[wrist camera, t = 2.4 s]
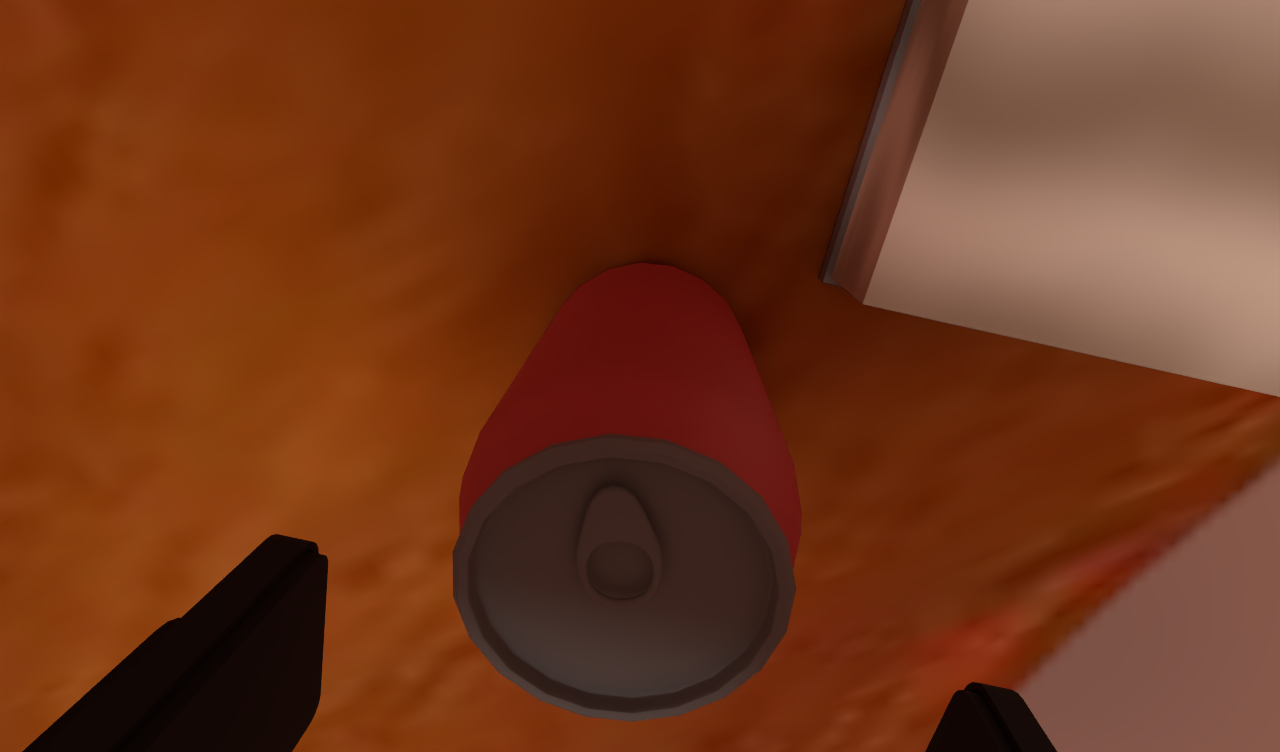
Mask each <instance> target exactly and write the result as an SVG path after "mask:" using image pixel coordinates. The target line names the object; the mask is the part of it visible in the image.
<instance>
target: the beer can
mask: <svg viewBox="0 0 1280 752" xmlns="http://www.w3.org/2000/svg"><path fill="white" fill-rule="evenodd" d="M801 515H802V512H801V506H800V499H799V493H798V486H797V480H796V473H795V467H794V464H793V461H792V458H791V456H790V453H789V451H788V448H787V445H786V443H785V440H784V438H783V435H782V432H781V430H780V427H779V425H778V422H777V419H776V417H775V414H774V411H773V409H772V406H771V404H770V401H769V398H768V396H767V393H766V391H765V388H764V385H763V383H762V380H761V378H760V375H759V372H758V370H757V367H756V364H755V362H754V359H753V357H752V354H751V351H750V349H749V346H748V344H747V341H746V338H745V336H744V333H743V331H742V328H741V326H740V324H739V323H738V321H737V319H736V317H735V315H734V314H733V312H732V310H731V308H730V306H729V305H728V303H727V301H726V300H725V299H724V298H723V297H722V296H720V295H719V294H718V293H717V292H716V291H715V290H714V289H713V288H712V287H711V286H709V285H708V284H707V283H706V282H705V281H704V280H703V279H701V278H698V277H696V276H694V275H692V274H689V273H687V272H685V271H683V270H680V269H678V268H676V267H674V266H667V265H658V264H648V263H636V264H631V265H626V266H622V267H617V268H612V269H608V270H606V271H604V272H602V273H601V274H599V275H597V276H596V277H594V278H592V279H590V280H589V281H587V282H585V283H584V284H582V285H580V286H579V287H578V288H577V290H576V291H575V292H574V293H573V294H572V295H571V297H570V298H569V299H568V300H567V301H566V302H565V303H564V305H563V306H562V307H561V308H560V309H559V311H558V312H557V314H556V315H555V317H554V318H553V320H552V322H551V323H550V325H549V326H548V328H547V329H546V331H545V332H544V334H543V336H542V337H541V339H540V340H539V342H538V343H537V345H536V346H535V348H534V349H533V351H532V353H531V354H530V356H529V357H528V359H527V360H526V362H525V363H524V365H523V366H522V368H521V370H520V371H519V373H518V374H517V376H516V377H515V379H514V380H513V382H512V384H511V385H510V387H509V388H508V390H507V391H506V393H505V394H504V396H503V397H502V399H501V401H500V402H499V404H498V405H497V407H496V408H495V410H494V411H493V413H492V414H491V416H490V418H489V419H488V421H487V422H486V424H485V425H484V427H483V428H482V430H481V431H480V433H479V436H478V439H477V441H476V444H475V447H474V449H473V452H472V455H471V457H470V460H469V462H468V465H467V468H466V470H465V473H464V476H463V480H462V486H461V492H460V497H459V521H460V535H459V538H458V540H457V543H456V545H455V548H454V550H453V597H454V599H455V602H456V604H457V607H458V609H459V612H460V614H461V617H462V620H463V622H464V625H465V627H466V630H467V632H468V635H469V637H470V639H471V640H472V641H473V642H474V643H475V645H476V646H477V647H478V648H479V649H480V651H481V652H482V653H483V654H484V655H485V656H486V658H487V659H488V660H489V661H490V662H491V664H492V665H493V666H494V667H495V668H496V670H497V671H498V672H499V673H500V674H502V675H503V676H505V677H506V678H508V679H509V680H511V681H512V682H514V683H515V684H517V685H518V686H520V687H521V688H523V689H524V690H526V691H527V692H529V693H530V694H532V695H533V696H534V697H536V698H537V699H539V700H541V701H544V702H546V703H549V704H552V705H555V706H558V707H560V708H563V709H566V710H569V711H571V712H574V713H577V714H580V715H583V716H587V717H596V718H605V719H615V720H624V721H639V720H647V719H655V718H663V717H671V716H679V715H682V714H684V713H687V712H689V711H692V710H694V709H697V708H699V707H702V706H704V705H707V704H709V703H712V702H714V701H717V700H719V699H722V698H724V697H726V696H728V695H729V694H730V693H731V692H733V691H734V690H735V689H737V688H738V687H739V686H740V685H742V684H743V683H744V682H746V681H747V680H748V679H749V678H751V677H752V676H753V675H755V674H756V673H757V672H758V671H760V670H761V669H762V668H763V666H764V665H765V663H766V662H767V660H768V659H769V657H770V656H771V654H772V653H773V651H774V650H775V648H776V647H777V645H778V644H779V642H780V641H781V639H782V638H783V636H784V635H785V633H786V631H787V627H788V622H789V618H790V613H791V609H792V605H793V600H794V596H795V591H796V586H795V580H794V574H793V568H794V563H795V559H796V554H797V550H798V545H799V541H800V536H801Z"/></svg>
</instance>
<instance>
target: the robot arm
mask: <svg viewBox="0 0 1280 752" xmlns="http://www.w3.org/2000/svg"><path fill="white" fill-rule="evenodd" d="M327 574H328V559H327V556H325V555H321V554H319V552H318V546H317V544H316V543H314V542H311V541H307V540H302V539H297V538H292V537H288V536H283V535H278V534H275V535H271V536H270V537H268V538H267V539H266V540H265V541H264V542H263V543H261V544H260V545H259V546H258V547H257V548H256V549H255V550H254V551H253V552H252V553H251V554H250V555H248V556H247V557H246V558H245V559H244V560H243V561H242V562H241V563H240V564H239V565H238V566H237V567H236V568H234V569H233V570H232V571H231V572H230V573H229V574H228V575H227V576H226V577H225V578H224V579H223V580H222V581H220V582H219V583H218V584H217V585H216V586H215V587H214V588H213V589H212V590H211V591H210V592H209V593H208V594H206V595H205V596H204V597H203V598H202V599H201V600H200V601H199V602H198V603H197V604H196V605H195V606H194V607H192V608H191V609H190V610H189V611H188V612H187V613H186V614H185V615H184V616H183V617H182V618H176V619H174V620H171V621H168V622H167V623H165V624H164V625H163V626H161V627H160V628H159V629H157V630H156V631H155V632H154V633H153V634H152V635H150V636H149V637H148V638H147V639H146V640H145V641H144V642H143V643H142V644H140V645H139V646H138V647H137V648H136V649H135V650H134V651H133V652H132V653H131V654H129V655H128V656H127V657H126V658H125V659H124V660H123V661H122V662H121V663H120V664H118V665H117V666H116V667H115V668H114V669H113V670H112V671H111V672H110V673H108V674H107V675H106V676H105V677H104V678H103V679H102V680H101V681H100V682H99V683H97V684H96V685H95V686H94V687H93V688H92V689H91V690H90V691H89V692H88V693H86V694H85V695H84V696H83V697H82V698H81V699H80V700H79V701H78V702H77V703H75V704H74V705H73V706H72V707H71V708H70V709H69V710H68V711H67V712H65V713H64V714H63V715H62V716H61V717H60V718H59V719H58V720H57V721H56V722H54V723H53V724H52V725H51V726H50V727H49V728H48V729H47V730H46V731H45V732H43V733H42V734H41V735H40V736H39V737H38V738H37V739H36V740H35V741H33V742H32V743H31V744H30V745H29V746H28V747H27V748H26V749H25V750H24V751H22V752H292V751H293V749H294V748H295V746H296V745H297V743H298V742H299V740H300V738H301V737H302V735H303V734H304V732H305V731H306V729H307V728H308V726H309V724H310V723H311V721H312V719H313V717H314V715H315V713H316V710H317V707H318V704H319V700H320V694H321V678H322V660H323V643H324V626H325V608H326V591H327ZM926 752H1057V751H1056V749H1055V748H1054V746H1053V745H1052V743H1051V742H1050V740H1049V739H1048V737H1047V735H1046V734H1045V732H1044V731H1043V729H1042V728H1041V726H1040V725H1039V723H1038V722H1037V720H1036V719H1035V717H1034V715H1033V714H1032V712H1031V711H1030V709H1029V708H1028V706H1027V705H1026V703H1025V701H1024V700H1023V699H1022V697H1021V696H1020V695H1019V694H1018V693H1017V692H1015V691H1013V690H1010V689H1005V688H1001V687H996V686H991V685H986V684H982V683H975V682H972V683H970V684H968V685H967V686H966V688H965V689H964V690H958V691H957V692H955V694H954V695H953V697H952V699H951V701H950V703H949V705H948V707H947V709H946V711H945V713H944V715H943V717H942V719H941V721H940V723H939V725H938V727H937V729H936V731H935V733H934V735H933V737H932V739H931V741H930V743H929V745H928V747H927V749H926Z"/></svg>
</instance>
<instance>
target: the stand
mask: <svg viewBox="0 0 1280 752" xmlns="http://www.w3.org/2000/svg"><path fill="white" fill-rule="evenodd" d="M819 279H820V280H821V281H822V282H824V283H828V284H833V285H837V286H842V287H843V288H844V289H845V290H846V291H848V292H849V293H850V294H851V295H852V296H853V297H855V298H856V299H857V300H858V301H859V302H860V303H862V304H864V305H868V306H873V307H877V308H882V309H886V310H891V311H895V312H900V313H904V314H909V315H913V316H918V317H922V318H927V319H931V320H936V321H940V322H945V323H949V324H954V325H959V326H963V327H968V328H972V329H977V330H981V331H986V332H990V333H995V334H999V335H1004V336H1008V337H1013V338H1017V339H1022V340H1026V341H1031V342H1035V343H1040V344H1044V345H1049V346H1053V347H1058V348H1062V349H1067V350H1071V351H1076V352H1080V353H1085V354H1089V355H1094V356H1098V357H1103V358H1107V359H1112V360H1116V361H1121V362H1125V363H1130V364H1135V365H1139V366H1144V367H1148V368H1153V369H1157V370H1162V371H1166V372H1171V373H1175V374H1180V375H1184V376H1189V377H1193V378H1198V379H1202V380H1207V381H1211V382H1216V383H1220V384H1225V385H1229V386H1234V387H1238V388H1243V389H1247V390H1252V391H1256V392H1261V393H1265V394H1270V395H1274V396H1279V397H1280V0H907V2H906V5H905V8H904V11H903V14H902V17H901V21H900V24H899V27H898V30H897V33H896V36H895V39H894V43H893V46H892V49H891V52H890V55H889V58H888V61H887V65H886V68H885V71H884V74H883V77H882V80H881V83H880V87H879V90H878V93H877V96H876V99H875V102H874V105H873V109H872V112H871V115H870V118H869V121H868V124H867V127H866V131H865V134H864V137H863V140H862V143H861V146H860V149H859V153H858V156H857V159H856V162H855V165H854V168H853V171H852V175H851V178H850V181H849V184H848V187H847V190H846V193H845V197H844V200H843V203H842V206H841V209H840V212H839V215H838V219H837V222H836V225H835V228H834V231H833V234H832V237H831V241H830V244H829V247H828V250H827V253H826V256H825V259H824V263H823V266H822V269H821V272H820V275H819Z"/></svg>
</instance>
